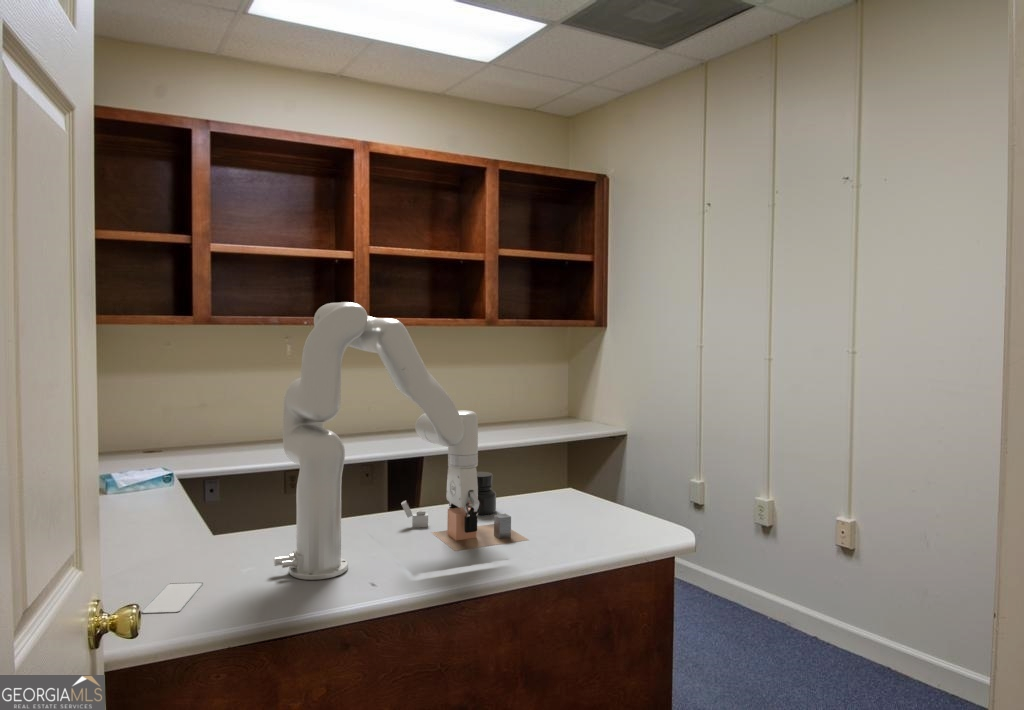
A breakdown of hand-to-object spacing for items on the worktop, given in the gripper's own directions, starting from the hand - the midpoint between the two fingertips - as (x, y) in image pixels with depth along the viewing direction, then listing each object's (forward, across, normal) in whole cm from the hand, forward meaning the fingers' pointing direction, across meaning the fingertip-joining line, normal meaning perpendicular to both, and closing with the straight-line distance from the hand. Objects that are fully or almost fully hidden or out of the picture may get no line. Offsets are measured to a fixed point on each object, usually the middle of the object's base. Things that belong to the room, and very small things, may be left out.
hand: (463, 526), depth 176 cm
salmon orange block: (+2, 0, 0) cm, 2 cm away
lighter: (+4, -13, -8) cm, 16 cm away
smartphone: (+3, +9, -66) cm, 67 cm away
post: (+2, +5, +9) cm, 10 cm away
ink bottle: (+4, -19, +14) cm, 24 cm away
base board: (+4, +2, +4) cm, 6 cm away
